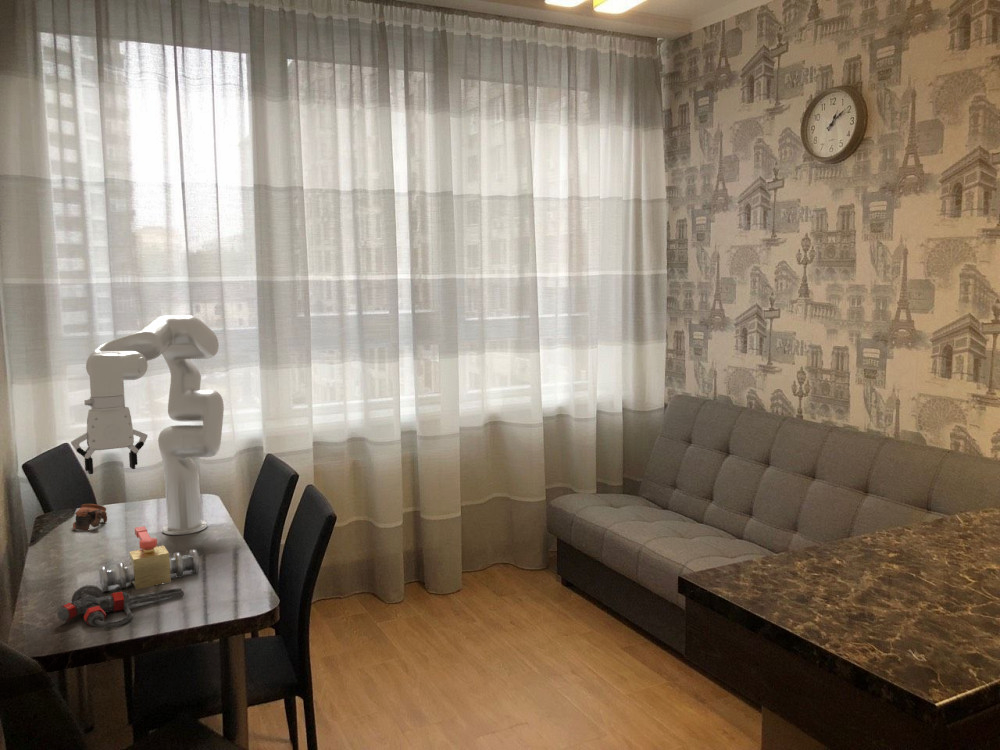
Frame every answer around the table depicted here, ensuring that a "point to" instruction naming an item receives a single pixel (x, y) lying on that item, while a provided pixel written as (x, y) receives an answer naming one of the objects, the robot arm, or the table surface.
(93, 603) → the valve
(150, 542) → the lever
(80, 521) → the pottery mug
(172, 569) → the ball valve
